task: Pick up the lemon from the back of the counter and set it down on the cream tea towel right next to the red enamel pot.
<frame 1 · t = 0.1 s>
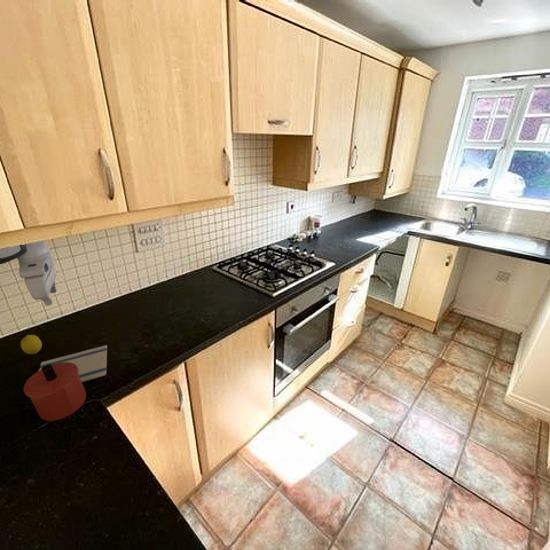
hand: (51, 298, 105), 19 cm above the countertop, tool pointing down, fingers open, 8 cm apart
pot lid: (52, 379, 83), point 9 cm above the countertop, touching pot
pot: (63, 403, 88), on the countertop
lemon: (35, 354, 107), on the countertop
towel: (73, 369, 100), on the countertop
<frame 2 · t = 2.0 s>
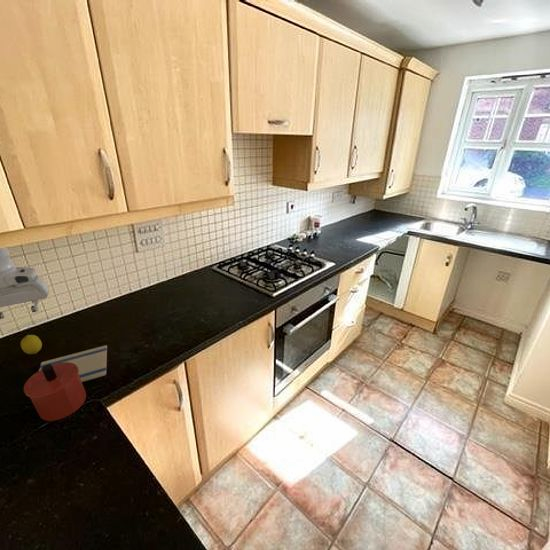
hand: (18, 314, 100), 17 cm above the countertop, tool pointing down, fingers open, 8 cm apart
nothing on the countertop moved.
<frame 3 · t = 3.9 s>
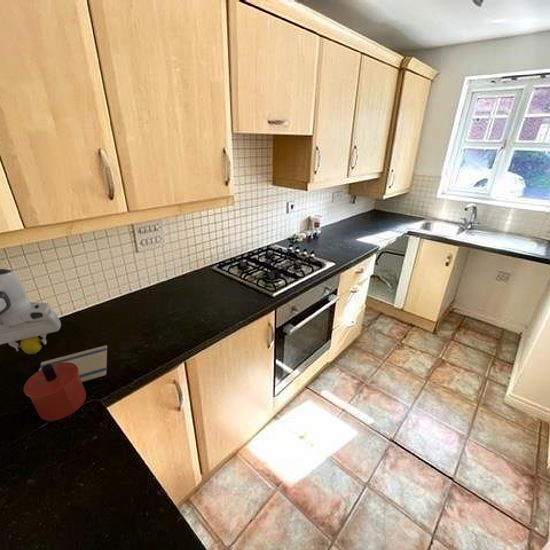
hand: (32, 346, 106), 3 cm above the countertop, tool pointing down, fingers closed on lemon, 5 cm apart
lemon: (35, 354, 107), on the countertop, touching gripper
everything else where it was.
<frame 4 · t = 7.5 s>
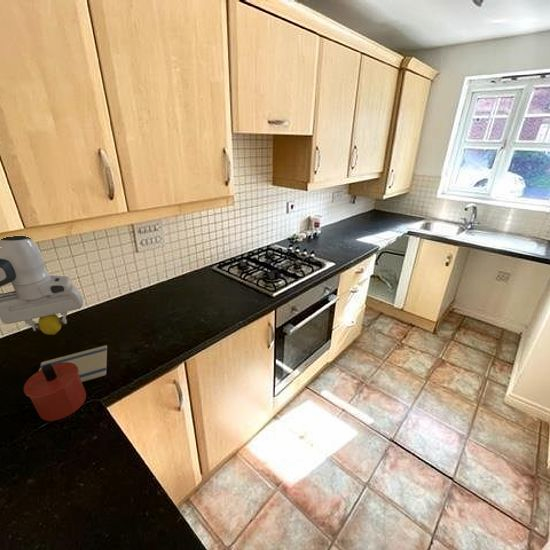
hand: (51, 326, 94), 17 cm above the countertop, tool pointing down, fingers closed on lemon, 5 cm apart
lemon: (54, 334, 95), point 13 cm above the countertop, touching gripper
everything else where it was.
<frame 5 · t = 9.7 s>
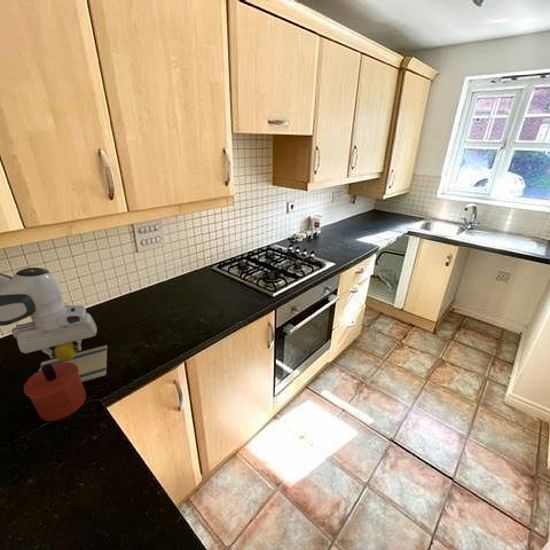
hand: (66, 353, 97), 7 cm above the countertop, tool pointing down, fingers closed on lemon, 5 cm apart
lemon: (69, 361, 99), point 4 cm above the countertop, touching gripper
everything else where it was.
when the fingers open (3 cm above the countertop, at t = 11.1 s): lemon stays where it is, resting on towel.
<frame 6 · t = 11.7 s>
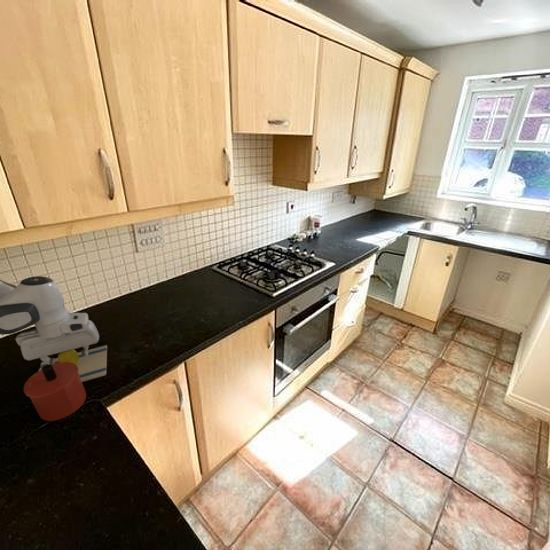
hand: (69, 359, 98), 4 cm above the countertop, tool pointing down, fingers open, 8 cm apart
lemon: (72, 368, 100), resting on towel
everything else where it was.
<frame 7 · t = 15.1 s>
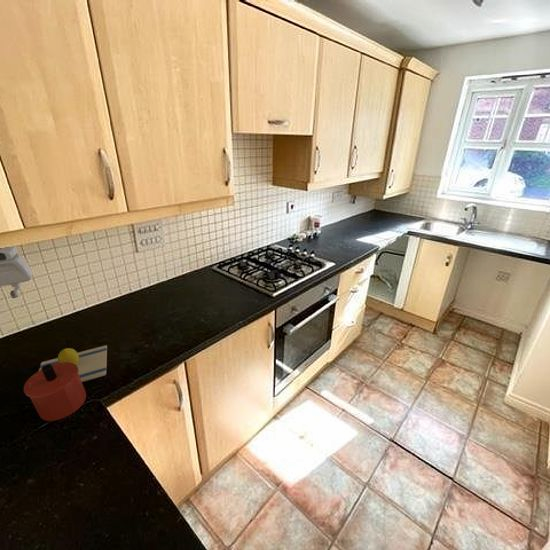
nothing on the countertop moved.
at the end: lemon inside the target area on the towel (0.1 cm from its centre), point 0.3 cm above the towel's base; lemon 15.0 cm from the pot (horizontally); the gripper is holding nothing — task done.
